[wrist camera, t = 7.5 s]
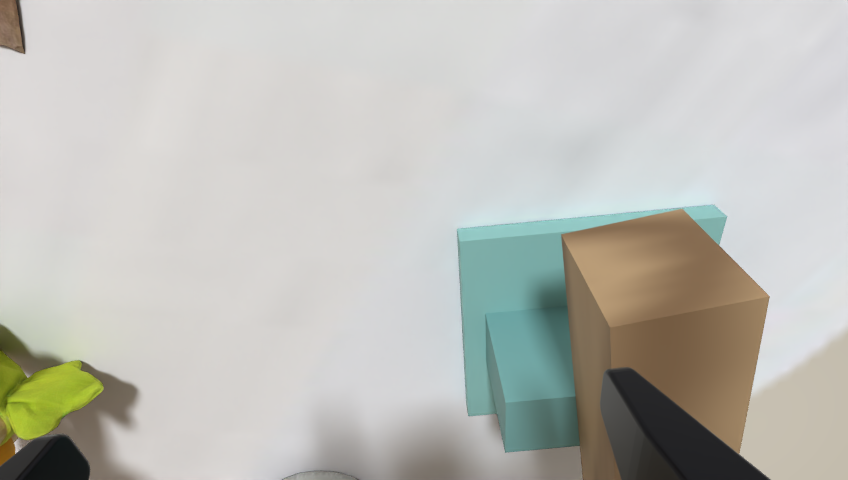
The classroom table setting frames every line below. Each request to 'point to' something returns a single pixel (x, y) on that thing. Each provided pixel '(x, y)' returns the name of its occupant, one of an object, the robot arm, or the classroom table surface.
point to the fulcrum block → (528, 324)
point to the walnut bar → (660, 324)
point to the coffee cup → (320, 476)
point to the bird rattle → (39, 400)
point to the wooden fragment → (10, 25)
